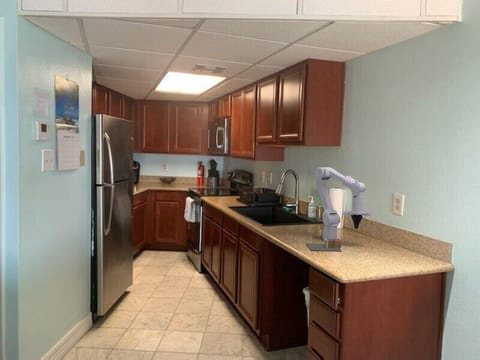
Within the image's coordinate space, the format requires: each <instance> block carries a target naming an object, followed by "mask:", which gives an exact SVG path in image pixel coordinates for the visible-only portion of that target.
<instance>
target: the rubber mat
mask: <svg viewBox="0 0 480 360" xmlns="http://www.w3.org/2000/svg"><path fill="white" fill-rule="evenodd" d="M305 245H306V247H308V248H309V250H310V251H311V252H335V253H336V252H337V253H338V252H342V250H341V248H326V247H325V246H324V245H325V243H319V242H318V243H313V242H309V243H307V242H306V243H305Z"/></svg>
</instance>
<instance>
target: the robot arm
mask: <svg viewBox="0 0 480 360" xmlns="http://www.w3.org/2000/svg"><path fill="white" fill-rule="evenodd" d="M314 175H315V184H316V185H315V186H316V188H317V191H318V194H319V197H320V202H321V205H322V209H323V213H322V215H321V216H322V223H323V225H324V227H323V234H322V235H323V236H322V237H321V239H322V240H323V241H324V242H325V239H338V226H339V224H340V223H341V217H340V214H339V213H338V210H336V209H334V206H333V203H332V199H331V197H330V193H329V190H328V186H327V184H328V183H327V182H328V181H329V180H331V178H334V179H336V180H338V181H340V182H341V184H342V185H343V186H344V187H346V188H348V189H350V191H351V195H352V200H351V210H348V211H345V210H344V211H343V212H342V214H343V216H350V217H351V219H352V222H353V227H354V229H358V228H359V226H360V224H361V221H362V220H363V218H364V217H365V216H367V217H370V216H371V212H370V211H363V207H364V206H363V205H364V193H365V191H366V189H367V187H366V183H364V182H363V181H359V180H357V179H354V178H352V176H351V175H346V176H345V175H343V174H341V172H339V171H337V170H335V168H332V166H331V167H330V166H328V167H327V166H326V167H324V166H323V167H321V166H319V167H317V168H316V170H315V171H314Z"/></svg>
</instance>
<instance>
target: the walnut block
mask: <svg viewBox="0 0 480 360" xmlns="http://www.w3.org/2000/svg"><path fill="white" fill-rule="evenodd" d="M324 244H325V245H324V246H325V247H326V248H339V249H341V248H342V240H341V239H340V238H337V239H325V241H324Z"/></svg>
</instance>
